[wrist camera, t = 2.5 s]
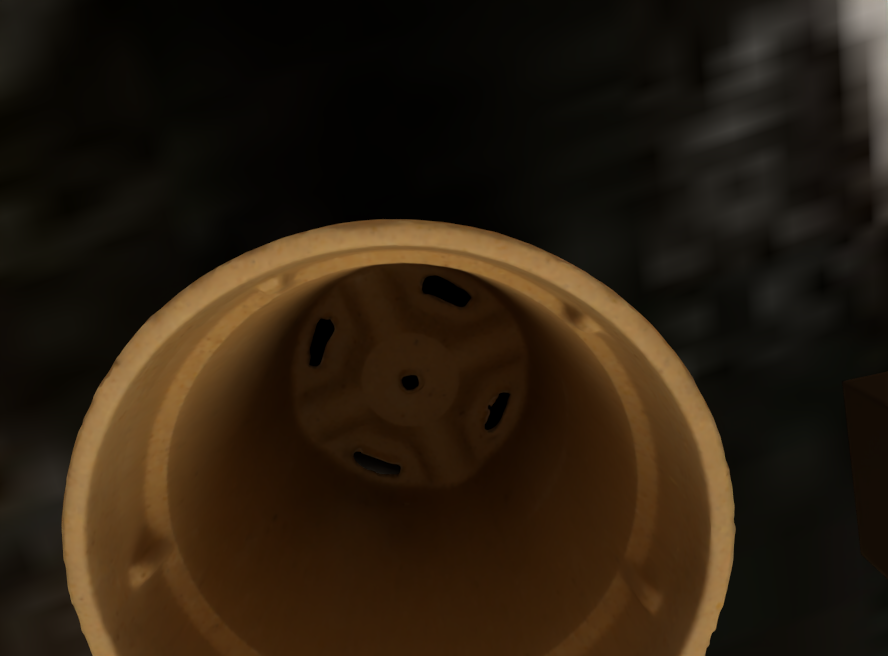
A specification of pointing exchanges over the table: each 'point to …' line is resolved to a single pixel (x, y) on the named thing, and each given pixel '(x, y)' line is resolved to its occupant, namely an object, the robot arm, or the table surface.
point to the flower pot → (398, 463)
